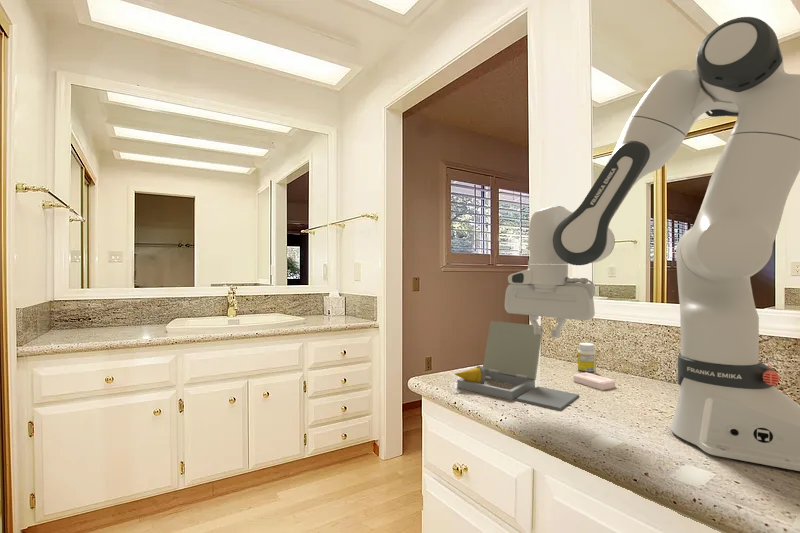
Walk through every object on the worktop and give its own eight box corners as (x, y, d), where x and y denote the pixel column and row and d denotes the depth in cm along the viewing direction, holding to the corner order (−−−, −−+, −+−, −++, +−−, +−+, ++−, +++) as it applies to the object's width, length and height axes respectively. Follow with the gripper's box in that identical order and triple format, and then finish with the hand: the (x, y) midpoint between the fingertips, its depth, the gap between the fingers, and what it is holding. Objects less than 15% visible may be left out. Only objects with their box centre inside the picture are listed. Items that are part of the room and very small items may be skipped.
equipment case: (546, 381, 110) (546, 324, 110) (511, 400, 94) (511, 334, 94) (496, 371, 120) (495, 319, 120) (457, 387, 104) (457, 327, 104)
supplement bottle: (582, 369, 121) (582, 341, 121) (598, 373, 118) (598, 344, 118) (574, 372, 118) (574, 343, 118) (591, 376, 115) (590, 346, 115)
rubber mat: (578, 397, 96) (578, 394, 96) (560, 410, 87) (560, 408, 87) (537, 388, 103) (537, 386, 103) (516, 400, 94) (516, 398, 94)
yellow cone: (488, 367, 108) (452, 362, 106) (496, 368, 103) (458, 363, 101) (486, 388, 107) (450, 384, 105) (495, 389, 102) (457, 385, 100)
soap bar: (586, 380, 112) (586, 371, 112) (616, 389, 103) (616, 379, 103) (572, 382, 109) (572, 373, 109) (601, 392, 101) (601, 382, 101)
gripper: (599, 277, 91) (598, 339, 91) (513, 275, 104) (512, 329, 104) (590, 278, 86) (589, 343, 86) (501, 275, 100) (501, 332, 100)
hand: (546, 335), depth 95 cm, fingers open, 3 cm apart
